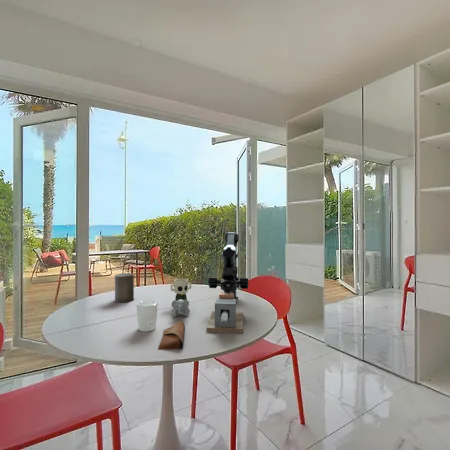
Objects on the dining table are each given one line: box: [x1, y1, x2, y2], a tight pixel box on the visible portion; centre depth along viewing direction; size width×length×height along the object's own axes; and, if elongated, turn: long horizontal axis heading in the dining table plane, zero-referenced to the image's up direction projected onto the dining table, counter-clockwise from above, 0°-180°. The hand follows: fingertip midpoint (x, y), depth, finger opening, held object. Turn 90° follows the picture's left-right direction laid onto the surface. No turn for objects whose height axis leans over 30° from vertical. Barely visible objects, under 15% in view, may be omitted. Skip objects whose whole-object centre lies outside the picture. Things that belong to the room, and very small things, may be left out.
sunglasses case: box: [157, 320, 186, 351], centre depth 100 cm, size 18×7×7 cm
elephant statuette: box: [171, 299, 190, 318], centre depth 124 cm, size 9×12×8 cm
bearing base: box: [205, 298, 244, 334], centre depth 117 cm, size 21×14×10 cm, turn 176°
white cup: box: [136, 299, 158, 333], centre depth 110 cm, size 8×8×10 cm
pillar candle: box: [114, 272, 135, 303], centre depth 150 cm, size 10×10×15 cm
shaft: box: [218, 292, 234, 323], centre depth 110 cm, size 17×6×10 cm, turn 176°
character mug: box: [170, 278, 192, 301], centre depth 140 cm, size 11×7×13 cm, turn 119°
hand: (227, 299), depth 127 cm, fingers closed
